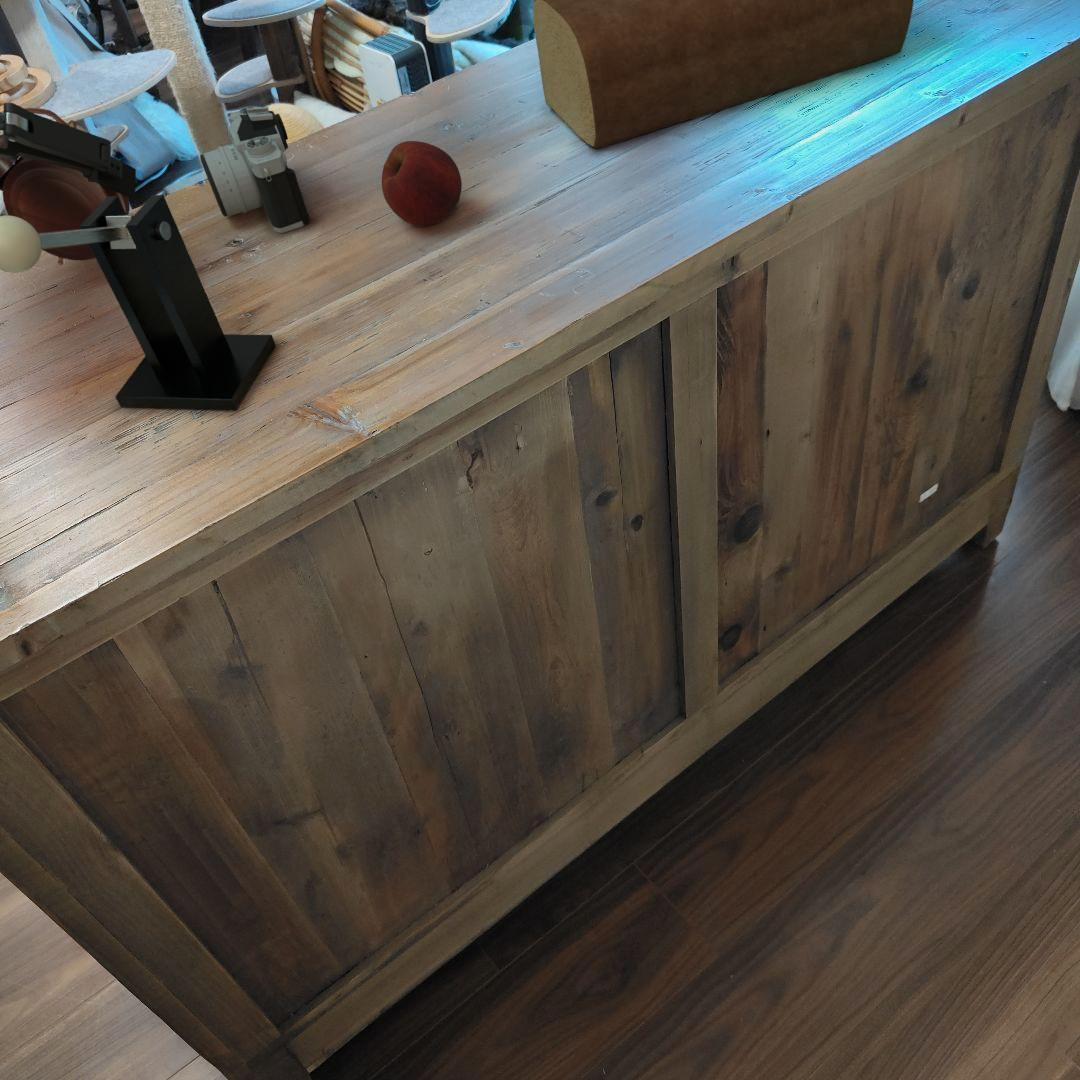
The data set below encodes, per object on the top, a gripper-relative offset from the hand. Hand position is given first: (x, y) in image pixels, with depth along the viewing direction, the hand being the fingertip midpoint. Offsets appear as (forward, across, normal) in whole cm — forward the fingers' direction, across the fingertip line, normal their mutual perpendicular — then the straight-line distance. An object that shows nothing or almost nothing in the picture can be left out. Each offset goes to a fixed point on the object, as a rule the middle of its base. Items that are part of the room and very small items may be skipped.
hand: (81, 185), depth 99 cm
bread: (+31, +60, +19) cm, 70 cm away
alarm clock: (+2, 0, -6) cm, 7 cm away
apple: (+10, +33, -2) cm, 34 cm away
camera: (+13, +13, +1) cm, 18 cm away
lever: (-24, +19, -13) cm, 33 cm away
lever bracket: (-8, +19, -20) cm, 28 cm away
